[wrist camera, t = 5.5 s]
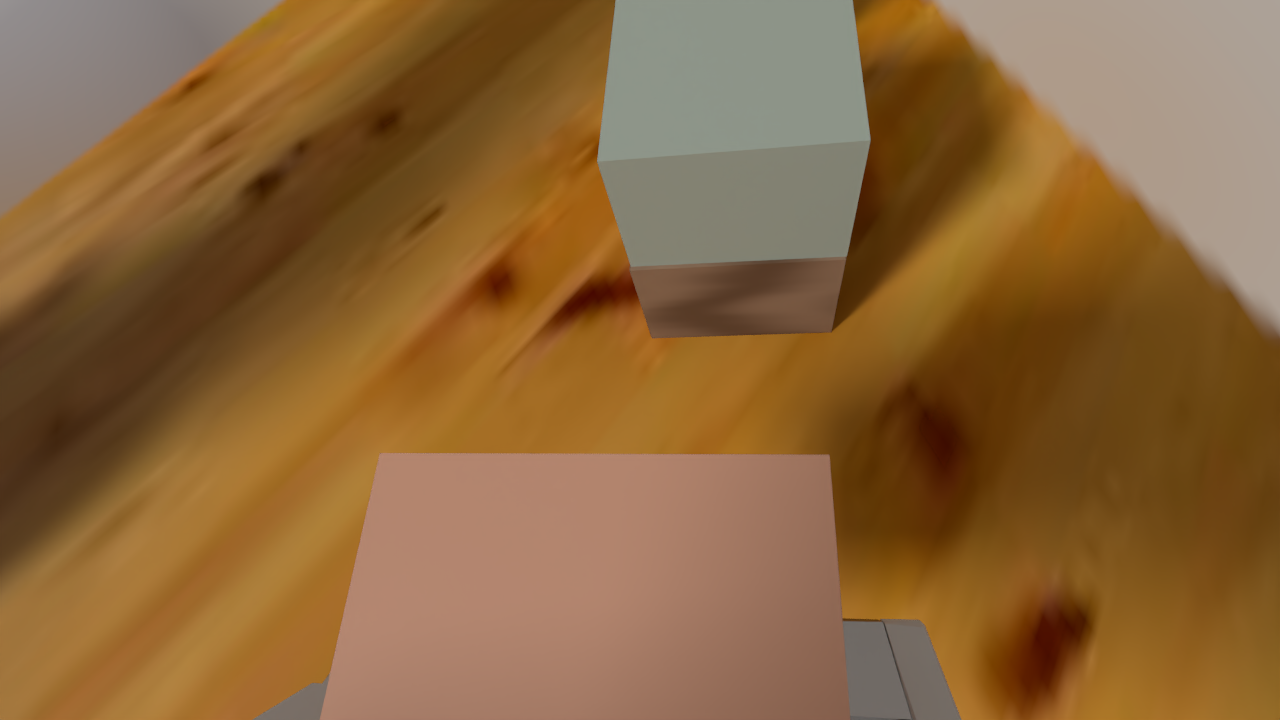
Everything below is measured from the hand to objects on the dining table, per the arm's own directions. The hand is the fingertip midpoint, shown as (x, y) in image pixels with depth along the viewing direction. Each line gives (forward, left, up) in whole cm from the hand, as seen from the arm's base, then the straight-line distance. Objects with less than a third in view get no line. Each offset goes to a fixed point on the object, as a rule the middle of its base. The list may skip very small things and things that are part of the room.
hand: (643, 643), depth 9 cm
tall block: (0, 0, -5) cm, 5 cm away
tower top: (-10, +12, -8) cm, 17 cm away
